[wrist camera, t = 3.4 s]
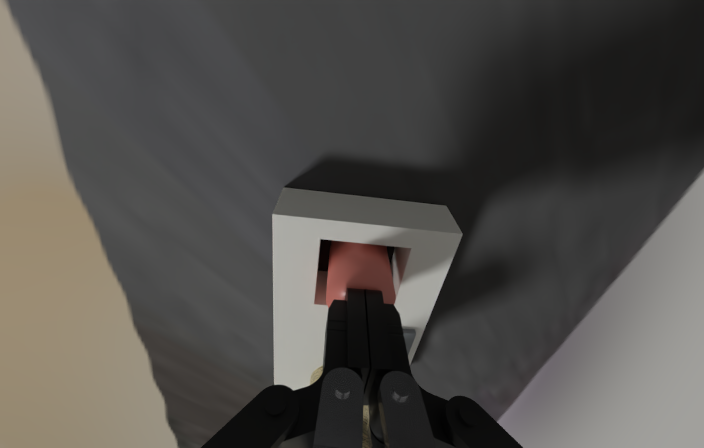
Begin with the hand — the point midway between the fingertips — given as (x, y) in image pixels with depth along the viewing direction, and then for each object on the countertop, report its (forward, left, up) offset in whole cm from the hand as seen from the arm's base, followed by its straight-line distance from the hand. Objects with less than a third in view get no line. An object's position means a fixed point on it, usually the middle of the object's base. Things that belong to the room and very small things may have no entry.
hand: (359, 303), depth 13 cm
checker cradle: (+4, 0, -4) cm, 6 cm away
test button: (0, 0, -4) cm, 4 cm away
